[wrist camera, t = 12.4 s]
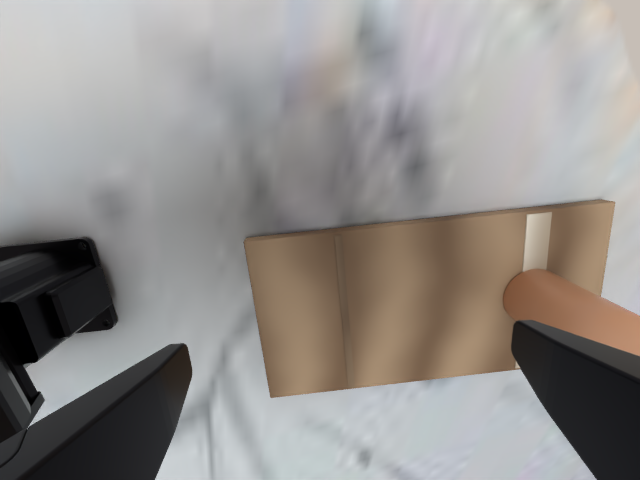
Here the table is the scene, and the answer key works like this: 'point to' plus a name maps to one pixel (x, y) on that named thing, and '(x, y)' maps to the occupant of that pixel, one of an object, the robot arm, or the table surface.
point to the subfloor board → (410, 293)
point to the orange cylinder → (571, 309)
